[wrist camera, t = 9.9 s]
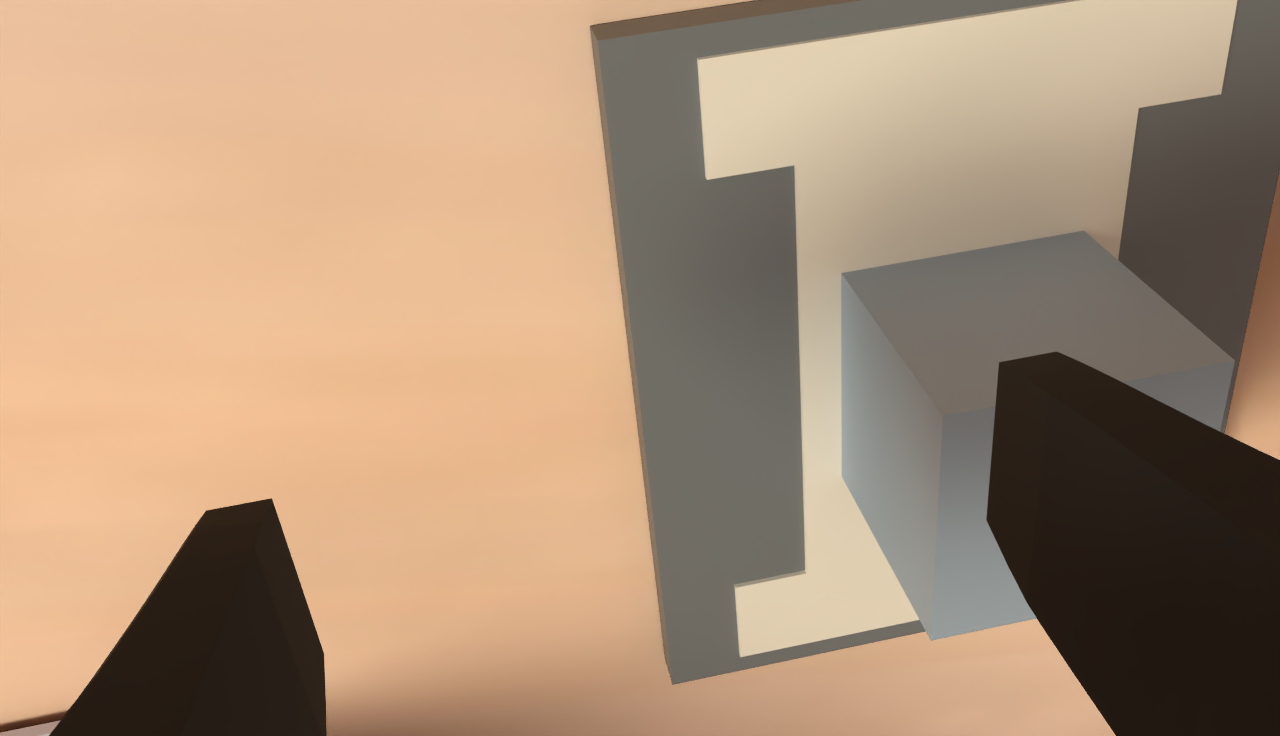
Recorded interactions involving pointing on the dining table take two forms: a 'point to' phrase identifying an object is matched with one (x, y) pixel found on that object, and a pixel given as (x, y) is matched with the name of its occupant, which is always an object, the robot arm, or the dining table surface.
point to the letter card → (885, 245)
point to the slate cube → (986, 396)
